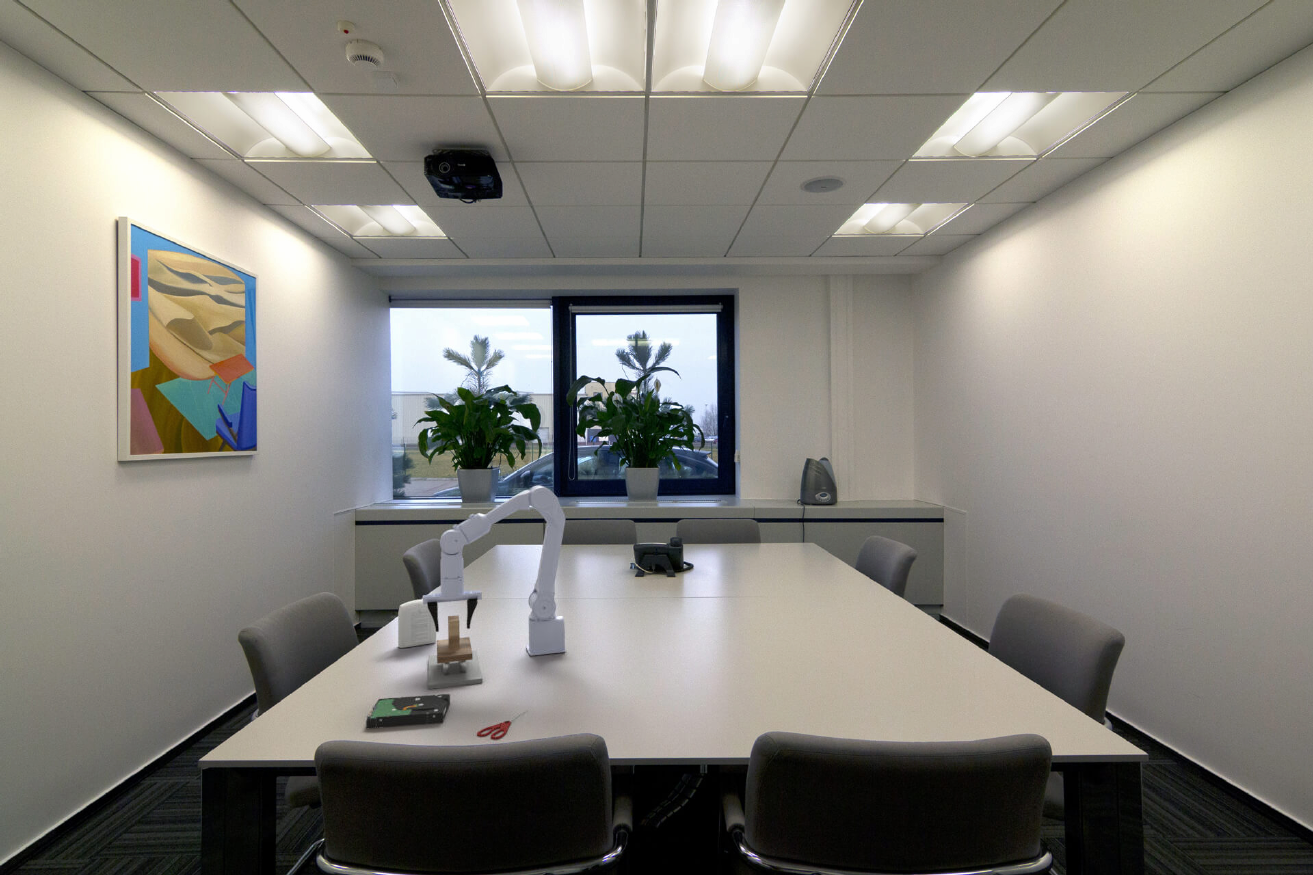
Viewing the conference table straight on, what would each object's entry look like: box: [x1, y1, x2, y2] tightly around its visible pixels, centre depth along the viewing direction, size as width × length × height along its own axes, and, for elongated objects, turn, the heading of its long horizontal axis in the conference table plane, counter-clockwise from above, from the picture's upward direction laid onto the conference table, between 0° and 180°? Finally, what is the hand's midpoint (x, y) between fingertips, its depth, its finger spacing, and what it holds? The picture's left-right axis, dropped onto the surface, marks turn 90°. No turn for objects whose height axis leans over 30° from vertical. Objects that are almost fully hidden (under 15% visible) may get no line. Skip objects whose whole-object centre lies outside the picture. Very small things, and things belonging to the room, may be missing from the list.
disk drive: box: [365, 693, 451, 729], centre depth 139 cm, size 10×3×15 cm
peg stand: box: [428, 650, 484, 690], centre depth 166 cm, size 12×22×4 cm, turn 19°
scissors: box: [476, 709, 529, 741], centre depth 135 cm, size 5×14×1 cm, turn 157°
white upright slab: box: [397, 599, 437, 649], centre depth 188 cm, size 10×4×12 cm, turn 123°
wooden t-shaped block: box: [436, 614, 473, 664], centre depth 166 cm, size 14×8×8 cm, turn 19°
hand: (452, 629), depth 174 cm, fingers open, 7 cm apart
